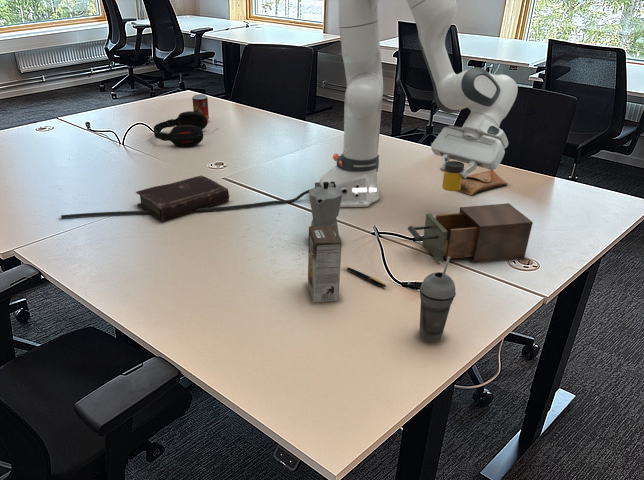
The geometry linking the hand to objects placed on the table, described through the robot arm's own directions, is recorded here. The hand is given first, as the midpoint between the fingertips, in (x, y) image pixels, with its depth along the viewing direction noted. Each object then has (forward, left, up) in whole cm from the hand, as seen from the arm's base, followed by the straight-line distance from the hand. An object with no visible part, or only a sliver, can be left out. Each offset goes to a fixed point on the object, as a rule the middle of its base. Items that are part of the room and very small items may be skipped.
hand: (452, 173), depth 164 cm
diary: (-76, +34, -17) cm, 85 cm away
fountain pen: (-31, -24, -17) cm, 43 cm away
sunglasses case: (+25, +29, -17) cm, 42 cm away
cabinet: (+7, -15, -17) cm, 24 cm away
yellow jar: (+1, 0, -4) cm, 4 cm away
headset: (-72, +106, -17) cm, 129 cm away
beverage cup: (-24, -51, -17) cm, 59 cm away
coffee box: (-43, -29, -17) cm, 54 cm away
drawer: (-6, -15, -16) cm, 23 cm away
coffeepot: (-36, -1, -17) cm, 40 cm away
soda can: (-65, +132, -17) cm, 148 cm away
